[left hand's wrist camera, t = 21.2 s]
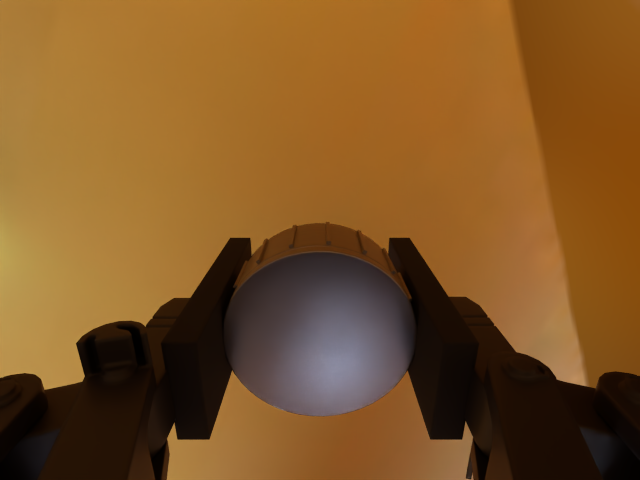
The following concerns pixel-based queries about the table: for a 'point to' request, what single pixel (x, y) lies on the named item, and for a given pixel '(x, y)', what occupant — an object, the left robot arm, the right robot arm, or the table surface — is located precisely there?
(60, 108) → the table surface
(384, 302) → the lid
